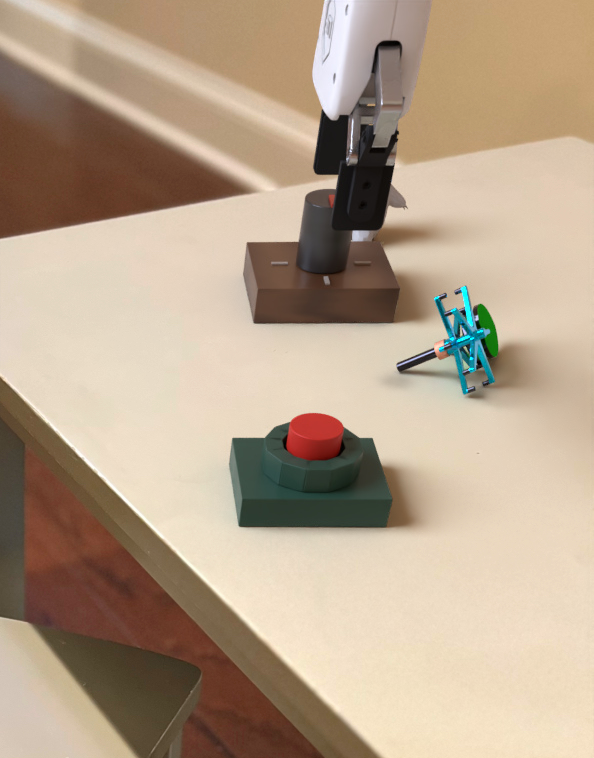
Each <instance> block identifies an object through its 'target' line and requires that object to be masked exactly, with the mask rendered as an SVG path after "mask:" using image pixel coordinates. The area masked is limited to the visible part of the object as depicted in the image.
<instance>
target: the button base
mask: <svg viewBox="0 0 594 758" xmlns="http://www.w3.org/2000/svg"><path fill="white" fill-rule="evenodd" d="M290 422H291V421H288V422H285V423H282V424H279V425H276V426H274V427H273V428H272V429H271V430H270V431H269V432H268V433H267V434H266V436H264V437H232V438H231V442H230V443H231V445H230V453H229V461H228V467H229V474H230V480H231V487H232V493H233V498H234V506H235V513H236V517H237V518H236V519H237V525H238V527H314V528H315V527H317V528H319V527H321V528H322V527H325V528H327V527H331V528H332V527H333V528H337V527H339V528H342V527H343V528H345V527H346V528H386V527H387V525H388V521H389V517H390V513H391V508H392V504H393V496H392V493H391V491H390V487H389V484H388V481H387V478H386V475H385V472H384V469H383V465H382V462H381V459H380V456H379V453H378V450H377V447H376V444H375V441H374V438H373V437H359V436H358V435H357V434H355V433H354V432H352V431H351V430H349V429H348V428H346V427H345V426H344V432H343V437H342V442H341V447H340V452H339V454H338V455H337V456H336V457H335V458H332V459H329V460H326V461H315V460H306V459H302V458H299V457H295V456H293V455H292V454H291V453H289V452H288V451H287V448H286V444H287V438H288V432H289V426H290Z"/></svg>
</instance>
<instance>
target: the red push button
mask: <svg viewBox="0 0 594 758" xmlns="http://www.w3.org/2000/svg"><path fill="white" fill-rule="evenodd" d="M289 422H290V426H289V432H288V438H287V444H286V448H287V451H288V452H289V453H291V454H292V455H293V456H295V457H299V458H302V459H306V460H315V461H326V460H329V459H332V458H335V457H336V456H337V455H338V454H339V452H340V447H341V442H342V437H343V432H344V427H345V426H344V424H343V423H342V421H341V420H339V419H338V418H336V417H335V416H332V415H329V414H326V413H320V412H307V413H302V414H298V415H296V416H295V417H293V418H292V419H291V420H290V421H289Z"/></svg>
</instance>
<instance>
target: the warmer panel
mask: <svg viewBox="0 0 594 758" xmlns="http://www.w3.org/2000/svg"><path fill="white" fill-rule="evenodd" d="M298 242H299V241H247V242H246V245H245V246H246V247H245V253H244V261H243V272H242V275H243V276H242V277H243V280H244V285H245V290H246V294H247V299H248V303H249V304H248V305H249V308H250V309H249V310H250V313H251V317H252V322H253V324H269V323H270V324H279V323H280V324H281V323H282V324H287V323H288V324H291V323H292V324H293V323H295V324H296V323H297V324H298V323H299V324H301V323H302V324H303V323H304V324H307V323H308V324H309V323H314V324H315V323H321V324H322V323H325V324H327V323H329V324H330V323H394V321H395V317H396V311H397V308H398V303H399V298H400V294H401V289H402V288H401V286H400V284H399V281H398V279H397V277H396V274H395V272H394V270H393V268H392V265H391V263H390V261H389V258H388V255H387V253H386V251H385V249H384V246H383V243H382V242H381V241H380V240H372V241H352V240H351V244H350V250H349V255H348V261H347V266H346V267H345V268H344V269H343V270H341V271H339V272H336V273H329V274H319V273H312V272H308V271H305V270H303V269H301V268H299V267H298V266H297V265H296V255H297V249H298Z"/></svg>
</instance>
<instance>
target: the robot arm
mask: <svg viewBox="0 0 594 758" xmlns="http://www.w3.org/2000/svg"><path fill="white" fill-rule="evenodd" d="M432 4H433V0H324V1H323V6H322V13H321V18H320V25H319V30H318V35H317V40H316V46H315V52H314V56H313V57H314V58H313V64H312V72H311V73H312V74H311V75H312V76H311V77H312V83H313V87H314V90H315V92H316V95H317V98H318V100H319V103H320V105H321V107H322V109H321V111H320V118H319V124H318V130H317V131H318V132H317V137H316V145H315V150H314V151H315V152H314V157H313V165H312V169H313V172H314V174H315V175H317V176H337V180H336V184H335V185H336V186H335V189H336V191H335V197H334V203H333V209H332V215H331V226H332V228H333V229H334V230H336V231H377V230H379V229H380V228H381V227H382V228H383V226H384V224H383V222H384V223H385V221H384V217H385V212H386V207H387V201H388V196H389V191H390V186H391V184H392V181H393V176H394V171H395V167H396V166H395V165H396V159H397V150H398V141H399V138H398V136H399V135H400V130H399V121H400V120H401V119H402V118H403V117H405V116H406V115H407V114H408V113H409V111H410V109H411V105H412V102H413V98H414V95H415V91H416V88H417V87H416V86H417V82H418V77H419V73H420V68H421V63H422V58H423V53H424V47H425V43H426V38H427V32H428V26H429V22H430V16H431V9H432ZM382 228H381V229H382Z"/></svg>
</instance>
